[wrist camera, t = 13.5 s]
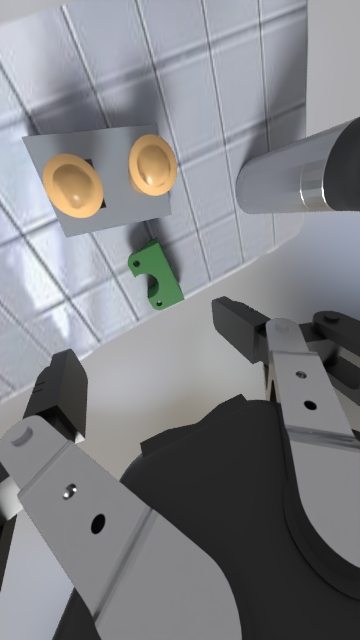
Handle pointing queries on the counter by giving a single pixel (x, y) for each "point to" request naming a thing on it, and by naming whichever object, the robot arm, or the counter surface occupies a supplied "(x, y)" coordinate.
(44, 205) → the counter surface
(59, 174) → the tan peg
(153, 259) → the clamp
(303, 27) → the counter surface
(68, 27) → the counter surface
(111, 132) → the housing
